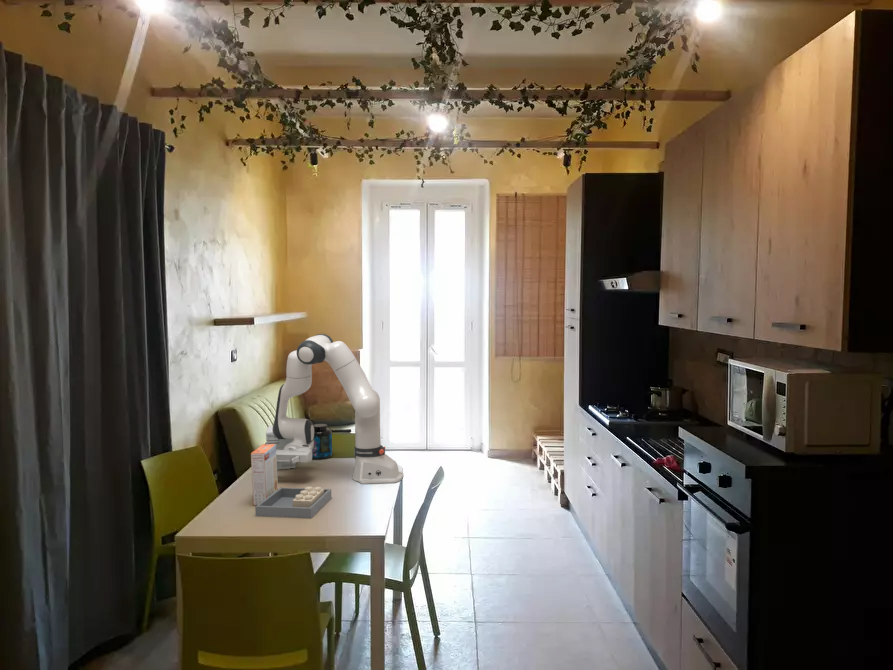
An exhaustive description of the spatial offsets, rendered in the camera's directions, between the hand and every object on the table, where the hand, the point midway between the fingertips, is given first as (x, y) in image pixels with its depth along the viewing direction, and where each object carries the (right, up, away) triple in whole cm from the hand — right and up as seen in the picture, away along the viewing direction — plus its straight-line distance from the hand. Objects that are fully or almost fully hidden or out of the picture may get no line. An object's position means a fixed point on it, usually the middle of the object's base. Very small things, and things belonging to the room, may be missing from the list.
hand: (280, 461), depth 250 cm
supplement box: (-9, -10, +36) cm, 39 cm away
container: (+6, -9, +50) cm, 51 cm away
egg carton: (+18, -12, -26) cm, 34 cm away
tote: (+13, -13, -25) cm, 31 cm away
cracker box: (-2, -13, -14) cm, 19 cm away
